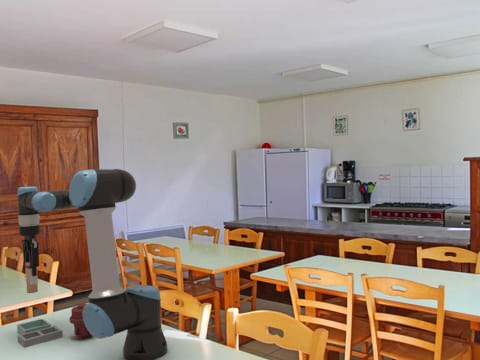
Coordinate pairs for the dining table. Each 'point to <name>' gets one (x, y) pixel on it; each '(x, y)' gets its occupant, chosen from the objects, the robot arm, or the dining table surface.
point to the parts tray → (32, 326)
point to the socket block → (40, 336)
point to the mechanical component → (79, 322)
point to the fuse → (30, 288)
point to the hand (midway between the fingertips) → (32, 282)
